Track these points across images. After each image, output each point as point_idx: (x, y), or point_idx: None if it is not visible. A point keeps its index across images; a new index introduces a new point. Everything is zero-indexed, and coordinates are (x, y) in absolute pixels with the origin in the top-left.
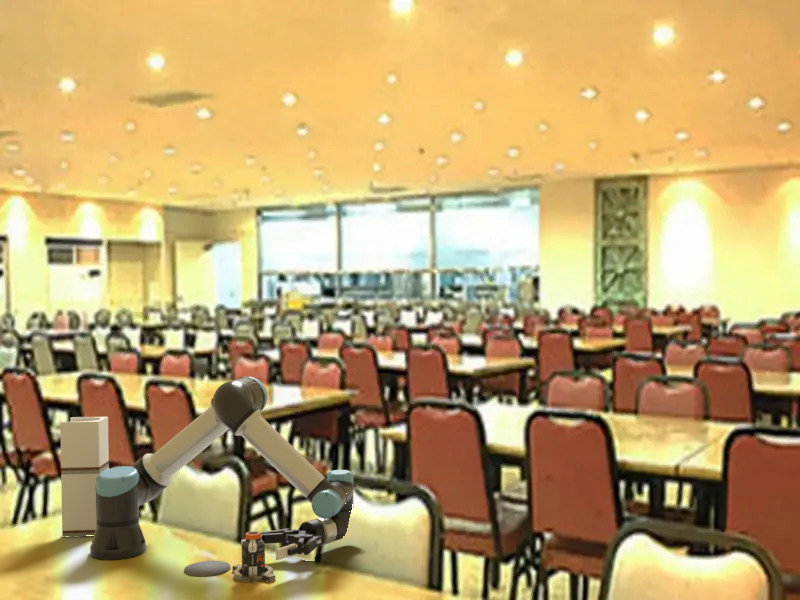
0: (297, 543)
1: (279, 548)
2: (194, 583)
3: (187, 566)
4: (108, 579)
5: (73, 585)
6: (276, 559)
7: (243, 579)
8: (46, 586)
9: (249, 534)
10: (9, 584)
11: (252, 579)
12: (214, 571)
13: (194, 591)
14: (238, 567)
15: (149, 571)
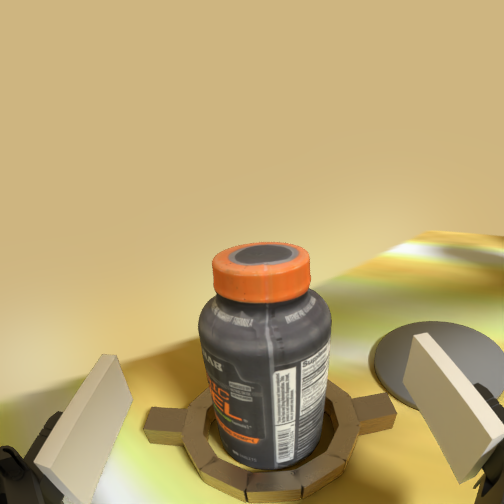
0: (20, 456)
1: (103, 369)
2: (340, 320)
3: (471, 330)
4: (443, 264)
5: (431, 248)
6: (128, 398)
7: None
8: (438, 240)
9: (252, 244)
10: (457, 232)
11: None
12: (396, 361)
13: None
14: (354, 400)
15: (469, 294)
